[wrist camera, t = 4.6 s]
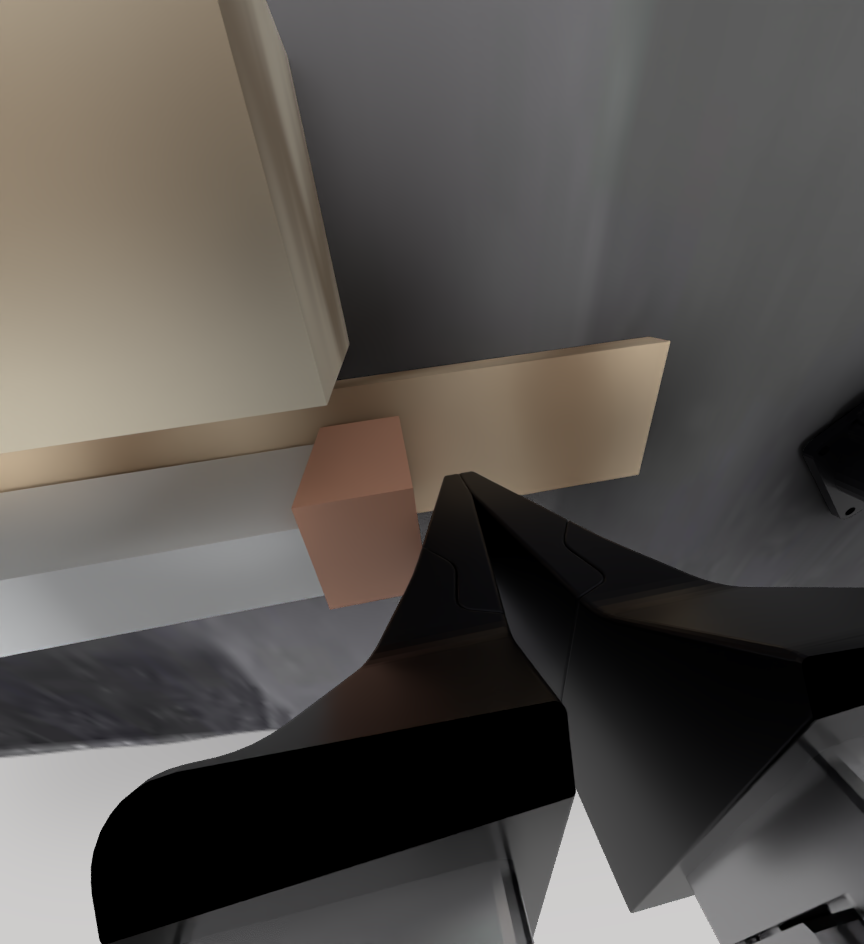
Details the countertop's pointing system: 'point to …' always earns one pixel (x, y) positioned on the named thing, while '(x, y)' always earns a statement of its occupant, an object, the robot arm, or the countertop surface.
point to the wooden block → (155, 223)
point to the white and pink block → (209, 539)
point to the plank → (427, 424)
